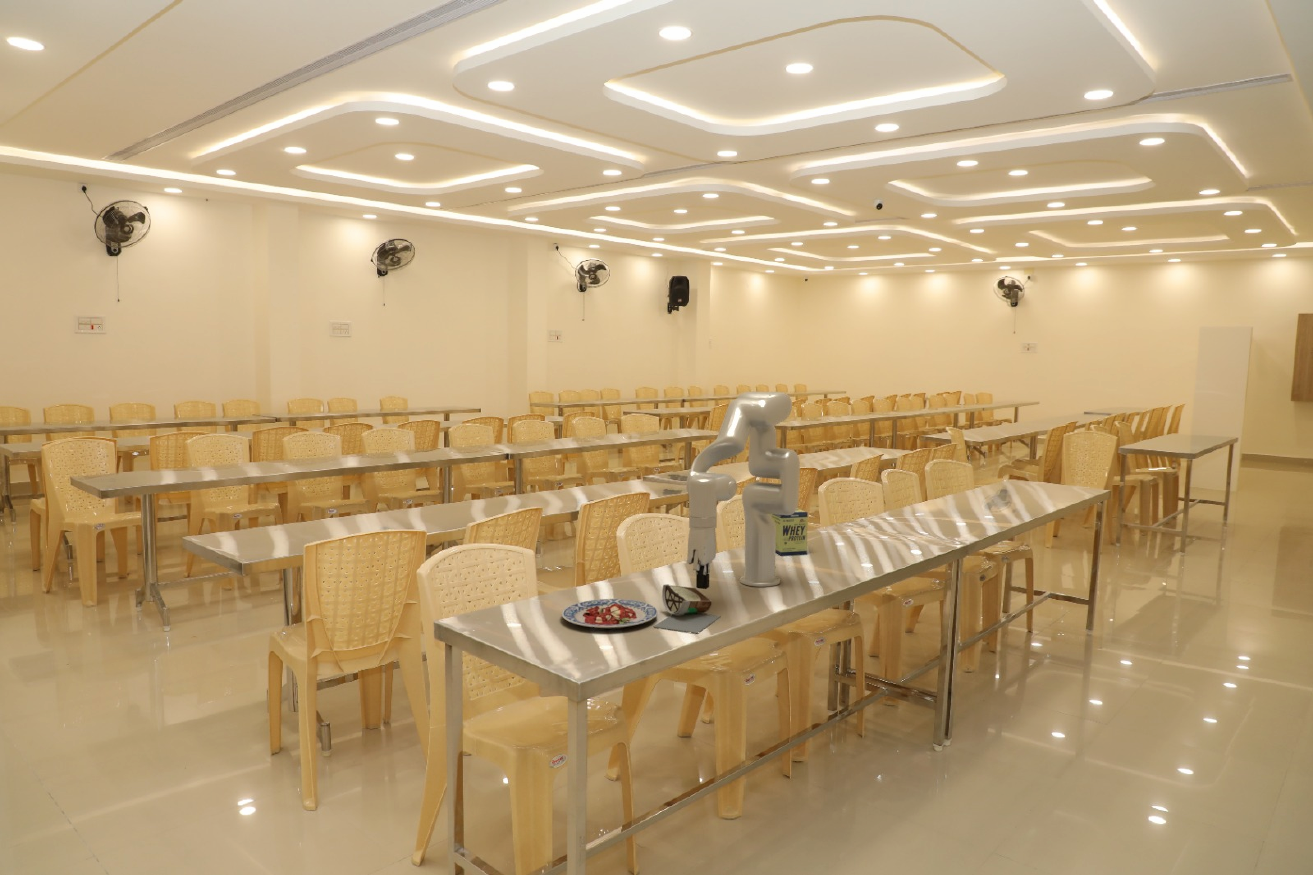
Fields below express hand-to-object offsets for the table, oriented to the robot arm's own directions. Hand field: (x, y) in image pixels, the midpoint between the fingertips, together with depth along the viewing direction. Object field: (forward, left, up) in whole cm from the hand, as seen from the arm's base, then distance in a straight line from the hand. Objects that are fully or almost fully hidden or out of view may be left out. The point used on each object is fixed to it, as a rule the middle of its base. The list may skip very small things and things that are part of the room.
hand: (702, 587), depth 235 cm
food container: (-1, -1, -5) cm, 5 cm away
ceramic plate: (+16, -21, -8) cm, 27 cm away
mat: (+10, 0, -7) cm, 12 cm away
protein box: (-85, -3, -7) cm, 86 cm away
